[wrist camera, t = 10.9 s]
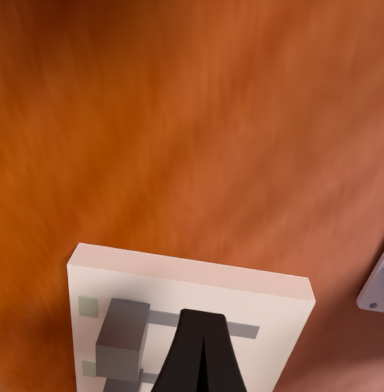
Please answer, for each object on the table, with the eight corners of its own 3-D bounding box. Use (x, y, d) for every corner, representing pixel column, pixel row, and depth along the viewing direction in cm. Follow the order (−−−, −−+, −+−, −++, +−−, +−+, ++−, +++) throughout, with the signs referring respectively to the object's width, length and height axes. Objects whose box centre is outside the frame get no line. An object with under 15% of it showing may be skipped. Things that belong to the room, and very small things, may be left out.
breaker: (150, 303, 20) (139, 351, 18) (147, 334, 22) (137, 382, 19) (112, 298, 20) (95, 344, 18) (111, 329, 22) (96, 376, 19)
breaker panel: (308, 277, 22) (316, 303, 20) (239, 431, 32) (241, 457, 31) (79, 242, 21) (66, 265, 20) (87, 409, 32) (79, 433, 30)
